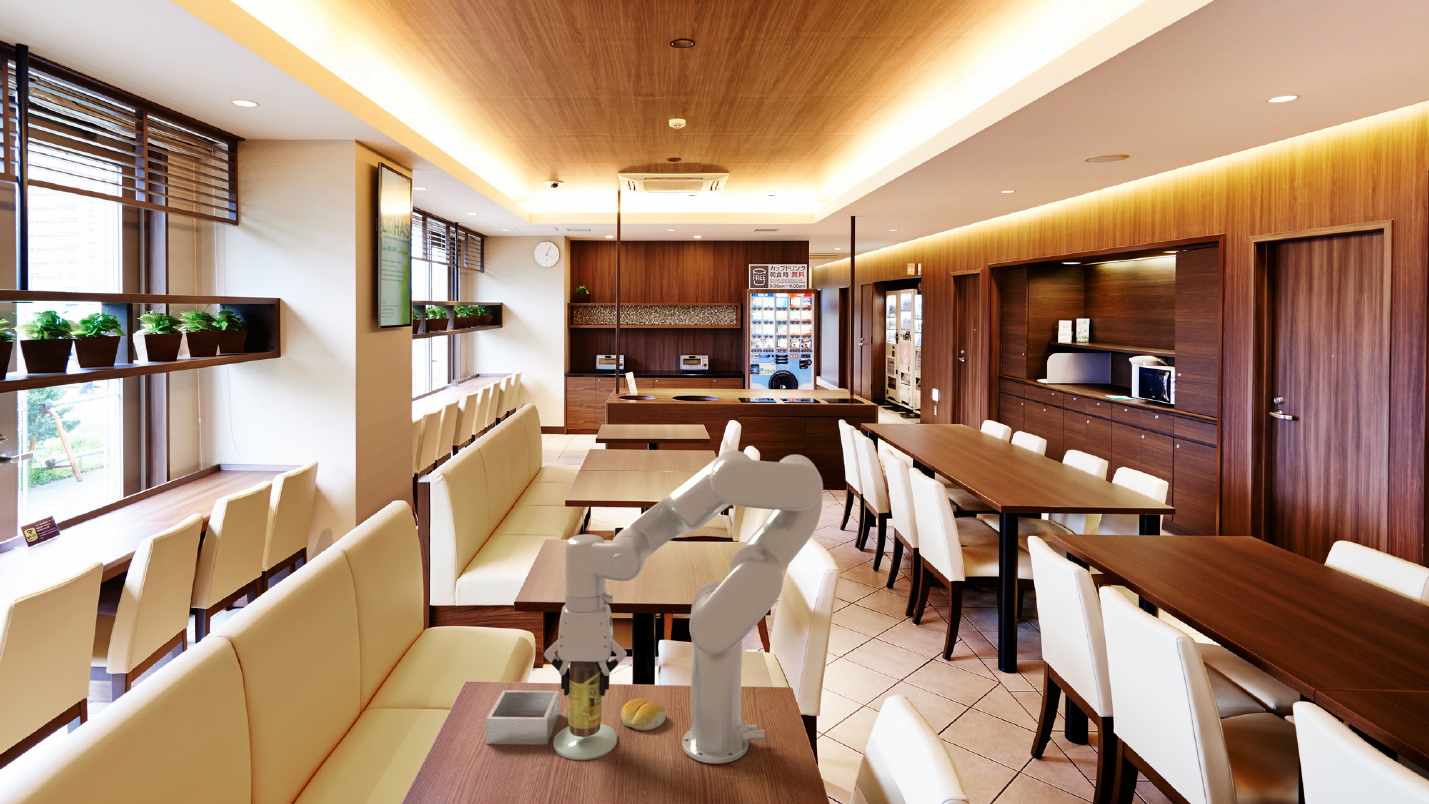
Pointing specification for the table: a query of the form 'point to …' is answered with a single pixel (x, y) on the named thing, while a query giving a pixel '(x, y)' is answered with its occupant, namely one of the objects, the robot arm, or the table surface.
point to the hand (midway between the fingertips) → (585, 691)
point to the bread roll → (642, 714)
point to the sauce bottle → (584, 698)
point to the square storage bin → (522, 727)
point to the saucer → (585, 744)
